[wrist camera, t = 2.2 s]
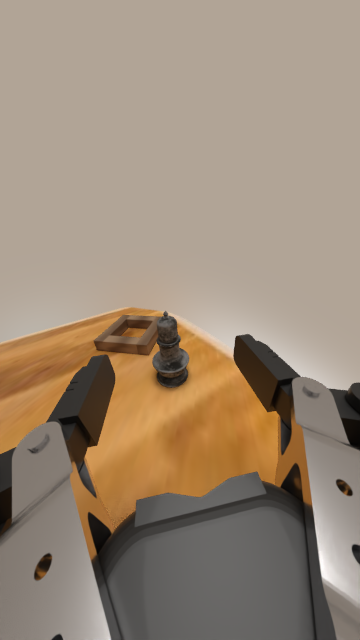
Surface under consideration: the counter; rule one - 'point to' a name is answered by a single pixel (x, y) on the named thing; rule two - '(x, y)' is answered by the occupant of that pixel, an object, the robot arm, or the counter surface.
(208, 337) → the counter surface
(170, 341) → the chess piece
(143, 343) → the socket block
